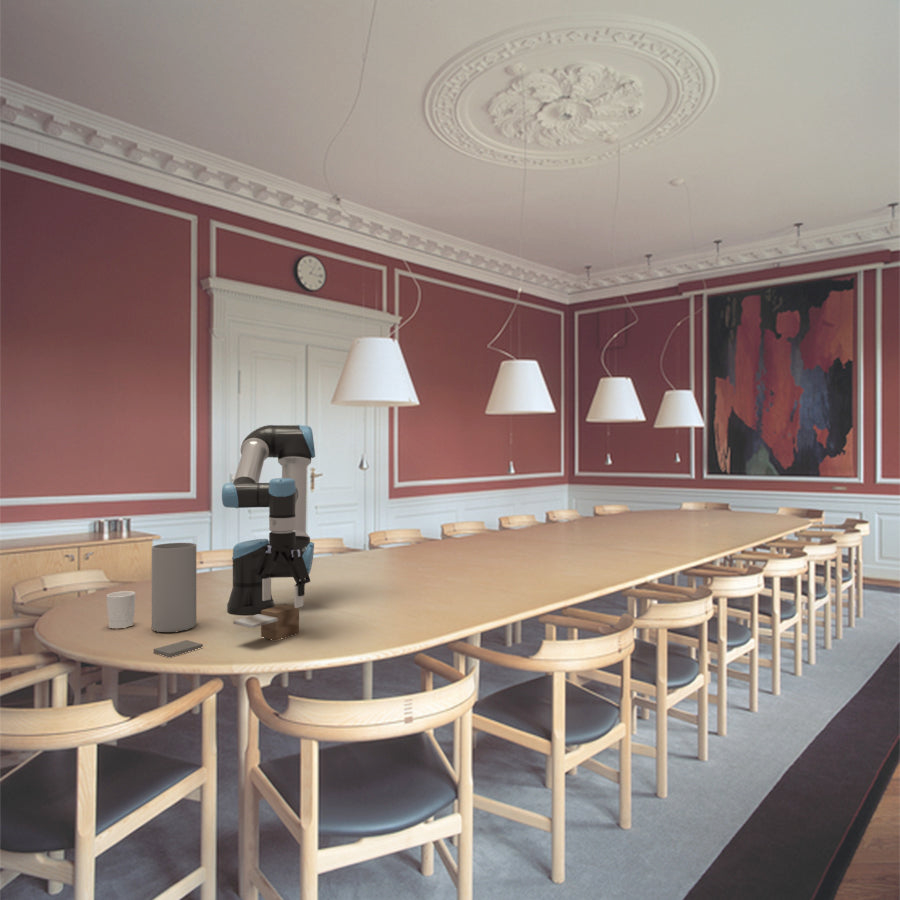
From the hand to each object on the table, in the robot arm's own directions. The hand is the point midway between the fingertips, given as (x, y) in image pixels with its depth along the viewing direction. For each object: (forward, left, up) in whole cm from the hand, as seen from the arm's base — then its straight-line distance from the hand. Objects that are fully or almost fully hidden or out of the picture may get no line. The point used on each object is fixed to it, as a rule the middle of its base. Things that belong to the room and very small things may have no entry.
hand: (282, 603), depth 192 cm
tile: (-12, -21, -9) cm, 26 cm away
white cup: (-48, -21, -9) cm, 53 cm away
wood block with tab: (+1, -6, -9) cm, 11 cm away
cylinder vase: (-33, -13, -9) cm, 36 cm away
